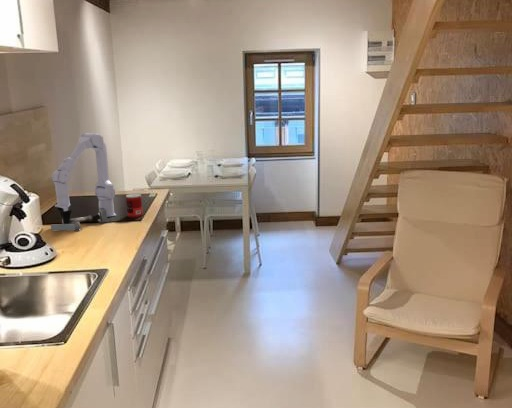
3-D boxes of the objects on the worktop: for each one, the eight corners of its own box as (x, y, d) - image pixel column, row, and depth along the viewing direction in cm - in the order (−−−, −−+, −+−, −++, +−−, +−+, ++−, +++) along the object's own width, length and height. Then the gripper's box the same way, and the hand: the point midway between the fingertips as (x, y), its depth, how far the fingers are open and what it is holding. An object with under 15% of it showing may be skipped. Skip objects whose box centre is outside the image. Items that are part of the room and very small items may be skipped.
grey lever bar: (50, 230, 247) (50, 224, 247) (52, 229, 250) (51, 222, 249) (79, 230, 247) (78, 223, 246) (81, 228, 249) (80, 222, 249)
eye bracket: (97, 220, 265) (96, 208, 263) (107, 219, 267) (106, 207, 265) (99, 223, 259) (98, 211, 258) (110, 221, 262) (108, 209, 260)
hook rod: (62, 225, 256) (61, 217, 256) (92, 221, 263) (91, 213, 262) (63, 227, 253) (62, 219, 252) (93, 223, 259) (92, 215, 258)
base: (73, 229, 249) (73, 229, 249) (81, 228, 251) (81, 228, 251) (74, 231, 246) (74, 231, 246) (82, 230, 248) (82, 230, 248)
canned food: (144, 213, 275) (143, 193, 273) (140, 217, 268) (138, 196, 265) (130, 213, 276) (128, 193, 274) (125, 217, 269) (123, 196, 266)
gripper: (52, 193, 256) (55, 220, 259) (55, 199, 244) (59, 227, 247) (67, 191, 259) (70, 218, 263) (71, 197, 247) (74, 224, 250)
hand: (65, 222), depth 255 cm, fingers open, 7 cm apart
